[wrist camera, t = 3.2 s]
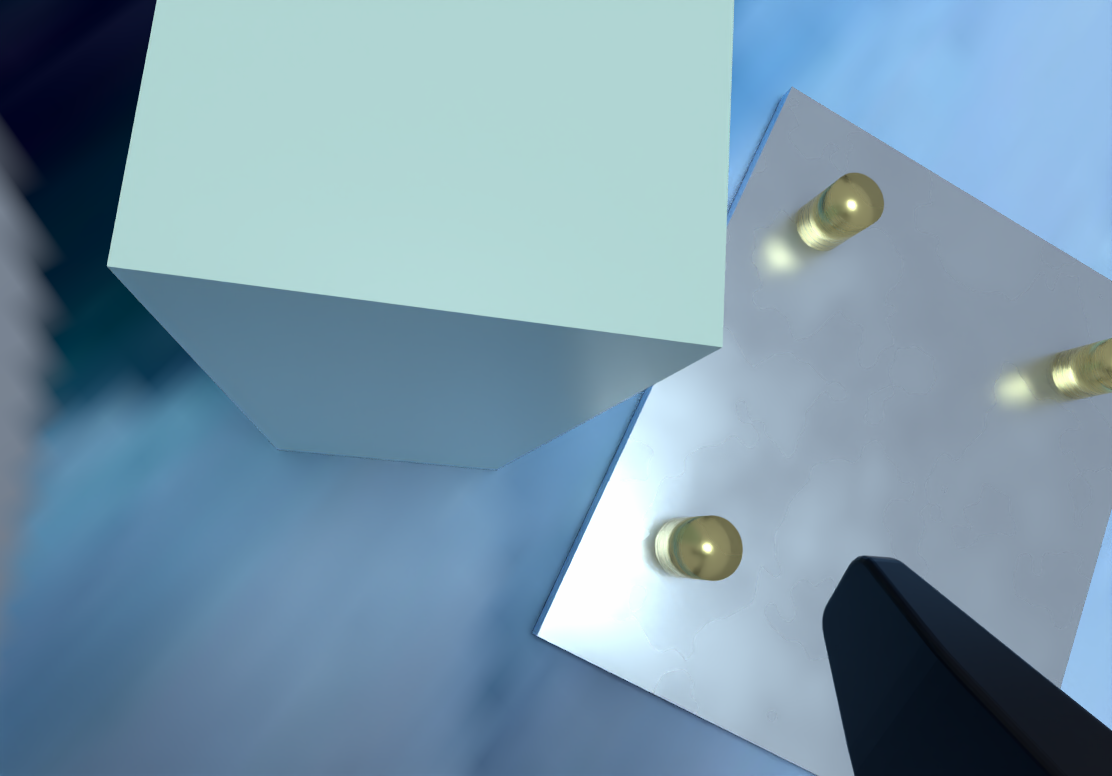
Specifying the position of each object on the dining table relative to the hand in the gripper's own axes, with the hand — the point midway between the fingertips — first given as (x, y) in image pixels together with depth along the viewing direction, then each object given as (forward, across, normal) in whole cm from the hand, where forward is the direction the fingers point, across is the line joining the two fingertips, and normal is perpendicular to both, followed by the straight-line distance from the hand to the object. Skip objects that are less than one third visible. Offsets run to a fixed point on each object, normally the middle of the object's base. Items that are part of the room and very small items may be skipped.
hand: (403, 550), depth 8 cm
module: (+12, 0, +5) cm, 13 cm away
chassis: (+10, -13, +6) cm, 18 cm away
